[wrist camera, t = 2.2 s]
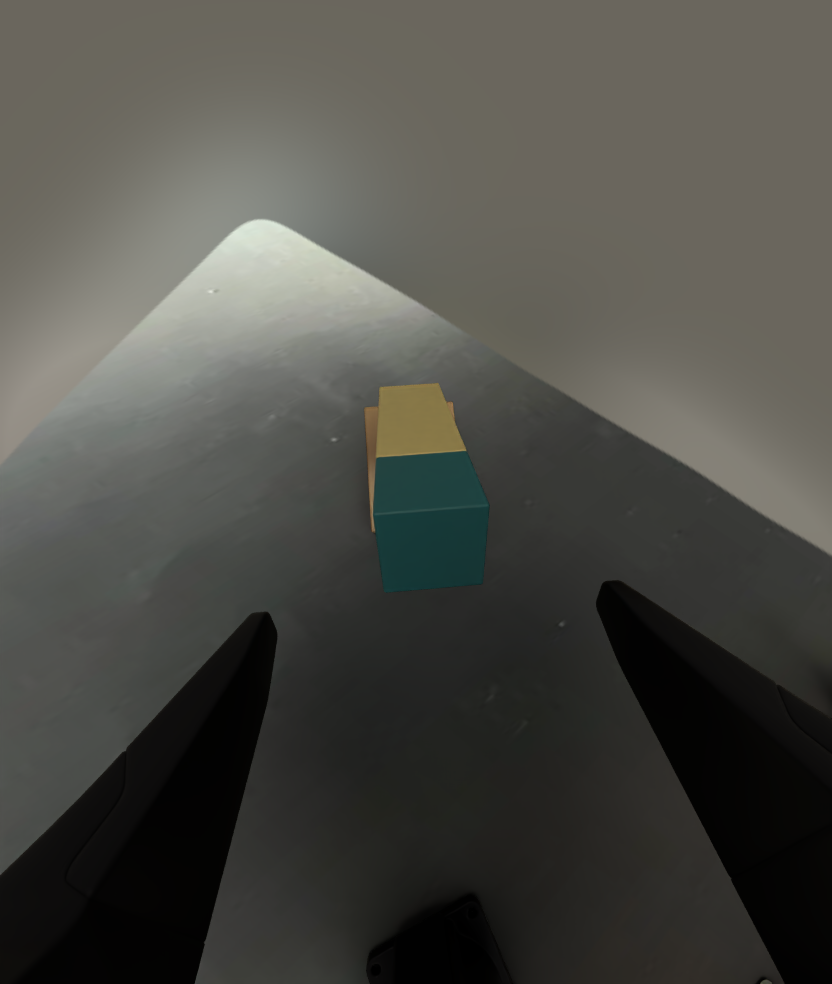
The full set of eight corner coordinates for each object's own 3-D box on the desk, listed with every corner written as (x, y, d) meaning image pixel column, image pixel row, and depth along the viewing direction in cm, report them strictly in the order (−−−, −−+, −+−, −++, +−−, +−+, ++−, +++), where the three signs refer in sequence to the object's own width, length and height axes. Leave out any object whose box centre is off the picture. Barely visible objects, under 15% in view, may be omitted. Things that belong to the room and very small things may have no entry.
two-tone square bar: (453, 575, 20) (500, 589, 10) (394, 580, 20) (377, 600, 10) (435, 401, 22) (459, 257, 12) (382, 405, 22) (357, 262, 12)
